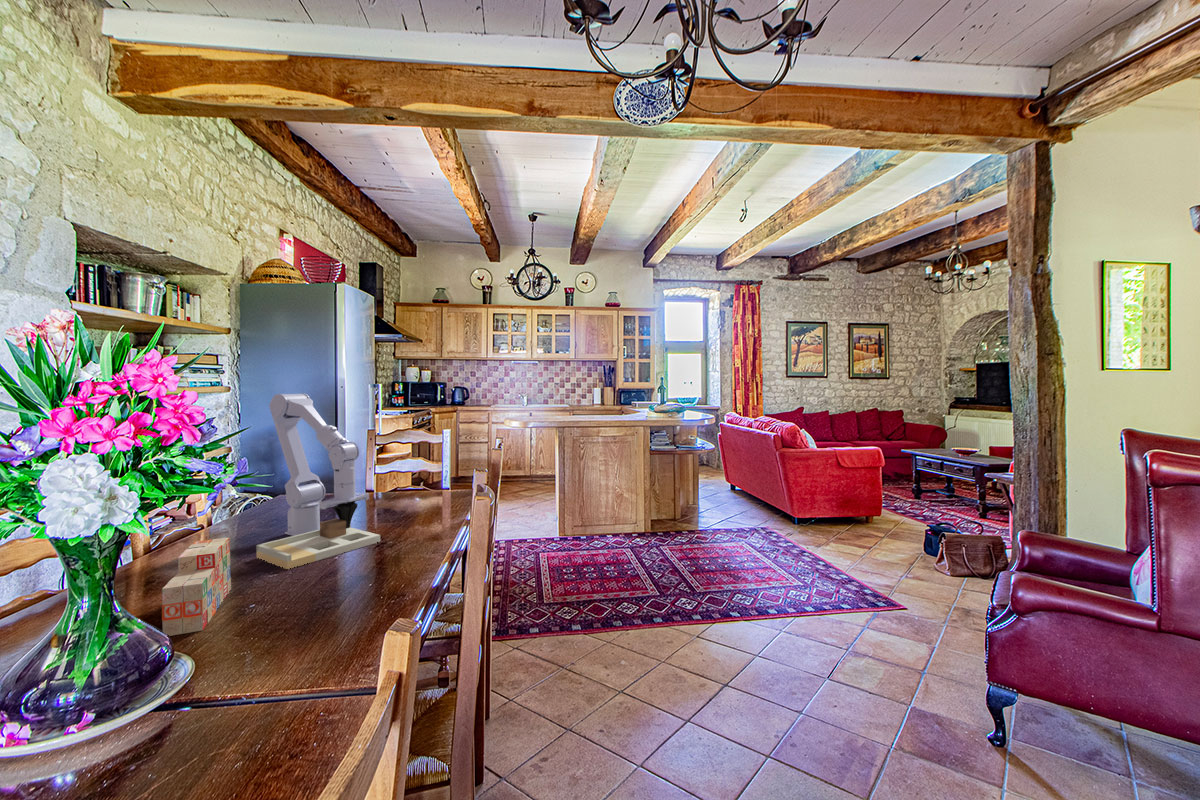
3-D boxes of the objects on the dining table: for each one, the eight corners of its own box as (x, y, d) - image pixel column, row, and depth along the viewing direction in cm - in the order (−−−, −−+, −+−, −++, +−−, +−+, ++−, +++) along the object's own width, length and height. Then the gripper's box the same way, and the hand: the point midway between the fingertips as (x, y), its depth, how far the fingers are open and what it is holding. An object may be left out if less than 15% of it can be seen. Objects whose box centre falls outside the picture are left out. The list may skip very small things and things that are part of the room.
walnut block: (320, 535, 148) (319, 522, 148) (336, 531, 152) (336, 518, 152) (329, 538, 146) (329, 524, 145) (346, 534, 150) (345, 520, 150)
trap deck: (256, 558, 135) (256, 545, 135) (348, 533, 157) (348, 522, 157) (287, 569, 127) (287, 555, 127) (380, 541, 149) (380, 529, 149)
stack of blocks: (203, 631, 96) (201, 567, 95) (161, 638, 93) (159, 572, 93) (231, 589, 115) (229, 536, 115) (197, 594, 113) (195, 539, 112)
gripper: (328, 488, 144) (329, 536, 144) (374, 480, 156) (375, 523, 156) (314, 486, 147) (315, 532, 148) (360, 478, 160) (361, 520, 160)
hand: (345, 527), depth 152 cm, fingers closed
